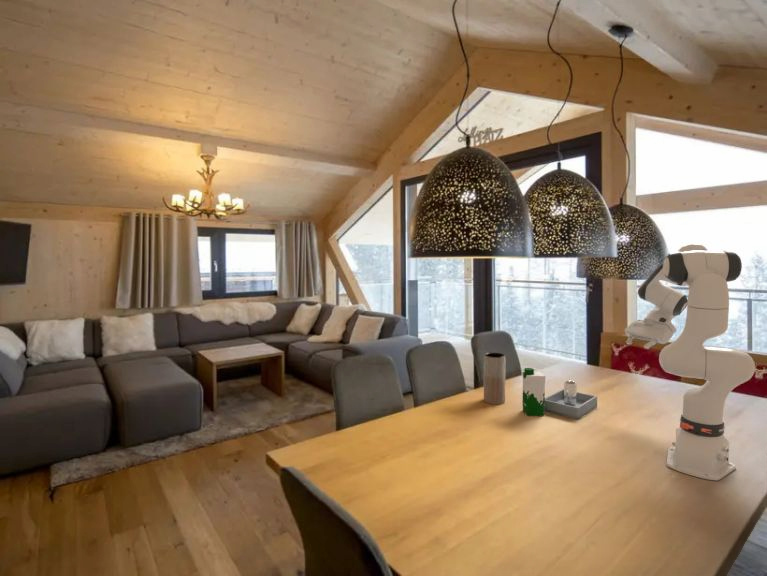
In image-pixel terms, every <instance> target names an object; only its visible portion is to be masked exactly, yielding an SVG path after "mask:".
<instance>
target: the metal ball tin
mask: <svg viewBox="0 0 767 576" xmlns="http://www.w3.org/2000/svg"><path fill="white" fill-rule="evenodd" d="M577 384H578V383H577V382H576V381H574V380H572V379H569V380H566V381H564V382H563V389H564V404H565V405H569V406H573V407H576V393H577V392H578V391H577V390H578V389H577V388H578V385H577Z"/></svg>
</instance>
